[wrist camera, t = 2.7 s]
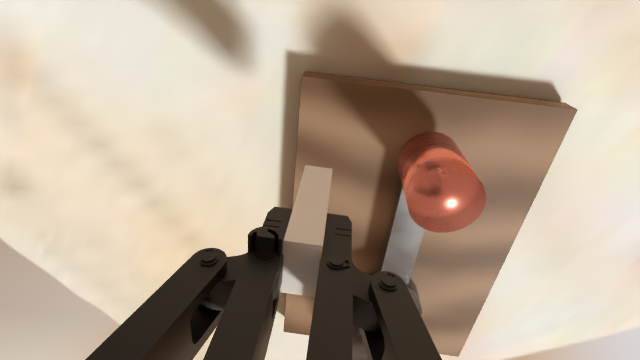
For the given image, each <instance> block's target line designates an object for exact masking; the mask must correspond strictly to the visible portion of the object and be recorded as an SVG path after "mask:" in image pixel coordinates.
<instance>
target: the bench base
mask: <svg viewBox="0 0 640 360" xmlns="http://www.w3.org/2000/svg"><path fill="white" fill-rule="evenodd" d="M576 112H577V109H575V108H573V107H572V106H570V105H568V104H566V103H561V102H553V101H544V100H536V99H528V98H519V97H511V96H503V95H495V94H486V93H478V92H470V91H461V90H453V89H445V88H437V87H428V86H420V85H412V84H403V83H395V82H387V81H379V80H370V79H362V78H354V77H345V76H337V75H329V74H321V73H312V72H304V73H303V75H302V80H301V94H300V108H299V122H298V136H297V150H296V164H295V178H294V193H293V206H294V203H295V200H296V196H297V193H298V189H299V186H300V182H301V179H302V175H303V172H304V169H305V165H309V166H317V167H324V168H332V169H333V171H332V179H331V187H330V194H329V202H328V210H327V213H330V214H337V215H344V216H348V217H349V219H350V220H351V222H352V262H353V264H354V265H355V267H356V268H357V269H359V270H360V271H362V272H364V273H366V274H372V273H375V272H378V268H379V264H380V260H381V256H382V252H383V248H384V244H385V240H386V236H387V232H388V228H389V224H390V220H391V216H392V211H393V207H394V203H395V199H396V195H397V191H398V187H399V183H400V179H401V178H400V174H399V170H398V165H397V159H398V154H399V152H400V150H401V148H402V146H403V145H404V144H405V143H406V142H407V141H408V140H409V139H410V138H412V137H414V136H415V135H418V134H420V133H424V132H439V133H443V134H445V135H447V136H449V137H450V138H451V139H452V140H453V141H454V142H455V143H456V144H457V146H458V148H459V149H460V151H461V152H462V154H463V155H464V157H465V158H466V160H467V161H468V163H469V164H470V166H471V167H472V169H473V170H474V172H475V173H476V175H477V176H478V178H479V179H480V181H481V182H482V184H483V186H484V188H485V191H486V203H485V207H484V209H483V211H482V213H481V214H480V216H479V217H478V218H477V219H476V220H475V221H474V222H472V223H471V224H470V225H468V226H466V227H465V228H462V229H460V230H457V231H453V232H447V233H438V232H432V231H428V230H426V229H425V232H424V235H423V238H422V241H421V245H420V248H419V251H418V254H417V257H416V261H415V264H414V267H413V270H412V273H411V277H410V279H411V280H412V281H413V282H414V283H415V285H416V287H417V289H418V294H419V298H420V303H421V308H422V316H421V317H422V319H423V321H424V324H425V326H426V328H427V330H428V332H429V334H430V336H431V338H432V340H433V342H434V344H435V346H436V349H437V351H438V353H439V354H444V355H451V356H459V354H460V352H461V350H462V348H463V346H464V344H465V342H466V340H467V338H468V336H469V334H470V332H471V329H472V327H473V325H474V323H475V321H476V319H477V317H478V315H479V313H480V311H481V309H482V307H483V305H484V303H485V300H486V298H487V296H488V294H489V292H490V290H491V288H492V286H493V284H494V282H495V280H496V278H497V276H498V274H499V271H500V269H501V267H502V265H503V263H504V261H505V259H506V257H507V255H508V253H509V251H510V249H511V247H512V245H513V242H514V240H515V238H516V236H517V234H518V232H519V230H520V228H521V226H522V224H523V222H524V220H525V218H526V215H527V213H528V211H529V209H530V207H531V205H532V203H533V201H534V199H535V197H536V195H537V193H538V191H539V189H540V186H541V184H542V182H543V180H544V178H545V176H546V174H547V172H548V170H549V168H550V166H551V164H552V162H553V160H554V157H555V155H556V153H557V151H558V149H559V147H560V145H561V143H562V141H563V139H564V137H565V135H566V133H567V130H568V128H569V126H570V124H571V122H572V120H573V118H574V116H575V114H576ZM292 209H293V207H292ZM314 300H315V297H310V296H303V295H296V294H289V293H286V305H285V319H284V332H290V333H297V334H304V335H310V329H311V322H312V314H313V307H314ZM352 360H368V358H367V354H366V351H365V347H364V344H363V340H362V338H361V337H357V327H356V326H354V325H353V336H352Z"/></svg>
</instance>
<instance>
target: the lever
mask: <svg viewBox="0 0 640 360" xmlns="http://www.w3.org/2000/svg"><path fill="white" fill-rule="evenodd" d="M397 165H398V170H399V174H400V178H401V179H400V183H399V187H398V191H397V195H396V199H395V203H394V207H393V211H392V216H391V220H390V224H389V228H388V232H387V236H386V240H385V244H384V248H383V252H382V256H381V260H380V264H379V268H378V272H379V271H389V272H392V273H394V274H397V275H398V276H399V277H401V278H402V280H403V281H404V282H405V284H406V286H407V288H408V290H409V292H410V294H411V297H412V299H413V301H414V303H415V305H416V307H417V309H418V311H419V313H420V315H421V316H422V308H421V303H420V298H419V294H418V289H417V287H416V285H415V283H414V282H413V281H412V280H411V279H410V277H411V273H412V270H413V267H414V264H415V261H416V257H417V254H418V251H419V248H420V245H421V241H422V238H423V235H424V232H425V229H426V230H428V231H432V232H438V233H447V232H453V231H457V230H460V229H462V228H465V227H466V226H468V225H470V224H471V223H472V222H474V221H475V220H476V219H477V218H478V217H479V216H480V214H481V213H482V211H483V209H484V207H485V203H486V191H485V188H484V186H483V184H482V182H481V181H480V179H479V178H478V176H477V175H476V173H475V172H474V170H473V169H472V167H471V166H470V164H469V163H468V161H467V160H466V158H465V157H464V155H463V154H462V152H461V151H460V149H459V148H458V146H457V144H456V143H455V142H454V141H453V140H452V139H451V138H450V137H449V136H447V135H445V134H443V133H439V132H424V133H420V134H418V135H415V136H414V137H412V138H410V139H409V140H408V141H407V142H406V143H405V144H404V145H403V146H402V148H401V150H400V152H399V154H398V159H397ZM375 273H376V272H375ZM375 273H372V274H369V275H371V276H372V275H373V274H375ZM357 337H361V333H360V328H359V327H357ZM361 338H362V337H361Z"/></svg>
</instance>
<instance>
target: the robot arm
mask: <svg viewBox="0 0 640 360" xmlns="http://www.w3.org/2000/svg"><path fill="white" fill-rule="evenodd" d="M332 171H333V169H332V168H324V167H317V166H309V165H305V169H304V172H303V175H302V179H301V182H300V186H299V189H298V193H297V196H296V200H295V203H294V206H293V209H287V208H279V207H274V208H273V209H272V210H270V211H269V212H268V214H267V216H266V219H265V221H264V224H263V226H262V227H259V228H256V229H254V230H252V231H251V232H250V233H249V234H248V253H246V254H243V255H239V256H232V257H226V254H225V253H224V252H223V251H222V250H220V249H216V248H206V249H203V250H200V251H198V252H197V253H195V254H194V255H193V256H192V257H191V258H190V259H189V260H188V261H187V262H186V263H185V264H183V265H182V266H181V267H180V268H179V269H178V270H177V271H176V272H175V273H174V274H173V275H172V276H171V277H170V278H169V279H168V280H167V281H166V282H165V283H164V284H163V285H162V286H161V287H160V288H159V289H158V290H157V291H156V292H155V293H154V294H153V295H152V296H150V297H149V298H148V299H147V300H146V301H145V302H144V303H143V304H142V305H141V306H140V307H139V308H138V309H137V310H136V311H135V312H134V313H133V314H132V315H131V316H130V317H129V318H128V319H127V320H126V321H125V322H124V323H123V324H122V325H121V326H120V327H119V328H118V329H117V330H115V331H114V332H113V333H112V334H111V335H110V336H109V337H108V338H107V339H106V340H105V341H104V342H103V343H102V344H101V345H100V346H99V347H98V348H97V349H96V350H95V351H94V352H93V353H92V354H91V355H90V356H89V357H88V358H87V359H86V360H193V358H194V357H195V355H196V354H197V353H198V351H199V350H200V349H201V347H202V346H203V344H204V343H205V342H206V340H207V339H208V338H209V336H210V335H211V333H212V332H213V331H214V329H215V328H216V327H217V328H216V330H215V333H214V335H213V338H212V340H211V342H210V345H209V347H208V350H207V352H206V355H205V357H204V359H203V360H264V359H265V355H266V351H267V347H268V343H269V339H270V335H271V331H272V327H273V323H274V319H275V314H276V310H277V306H278V300H279V292H281V293H289V294H296V295H303V296H310V297H315V300H314V307H313V314H312V322H311V329H310V336H309V344H308V351H307V358H306V360H352V336H353V325H354V326H356V327H359V328H360V333H361V337H362V340H363V344H364V347H365V351H366V354H367V358H368V360H442V359H441V357H440V355H439V353H438V351H437V349H436V346H435V344H434V342H433V340H432V338H431V336H430V334H429V332H428V330H427V328H426V326H425V324H424V321H423V319H422V317H421V315H420V313H419V311H418V309H417V307H416V305H415V303H414V301H413V299H412V297H411V294H410V292H409V290H408V288H407V286H406V284H405V282H404V281H403V280H402V278H401V277H399V276H398V275H397V274H394V273H392V272H389V271H379V272H376V273H375V274H373V275H372V276H371V275H369V274H366V273H364V272H362V271H360V270H359V269H357V268H356V267H355V265H354V264H353V262H352V222H351V220H350V219H349V217H348V216H344V215H337V214H330V213H327V210H328V202H329V194H330V187H331V179H332ZM280 288H281V290H280Z"/></svg>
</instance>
